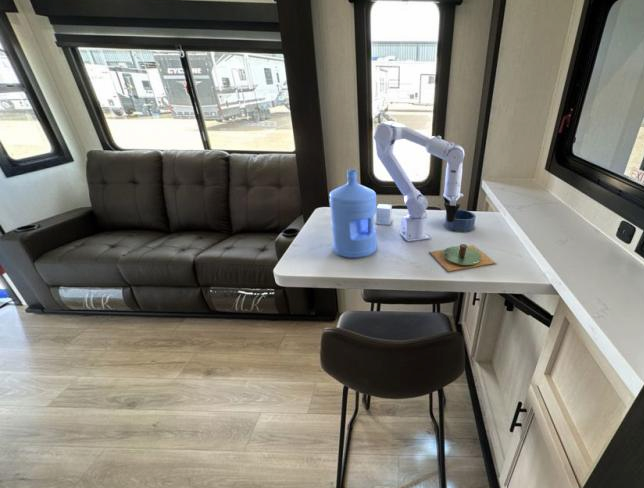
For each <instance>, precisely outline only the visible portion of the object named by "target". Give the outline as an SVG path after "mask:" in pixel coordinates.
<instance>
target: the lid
mask: <svg viewBox="0 0 644 488" xmlns="http://www.w3.org/2000/svg"><path fill="white" fill-rule="evenodd" d="M467 246H468V245H467V244H465V243H461V244H459V245H455V246H450V247H449V246H448V247H446V248H445V249H443V250H444V251H443V256H444V258H445V259H446V260H448V261H450V262H452V263H455V264H459V265H473V264H477V263H479V262H480V261H481V258H482V256H481V254H480V253H479V252H478V251H476V250H474V249H472V248H468V247H467Z"/></svg>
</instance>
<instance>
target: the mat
mask: <svg viewBox="0 0 644 488" xmlns="http://www.w3.org/2000/svg"><path fill="white" fill-rule="evenodd" d="M467 247H468V248H472V249H474V250H476V251H478V252H479V253H480V254H481V256H482V258H481V261H480V262H479V263H477V264H473V265H459V264H455V263H452V262H450V261H448V260H446V259H445V258H444V256H443V251H444V250H445V249H442V250H435V251H430V252H429V254H431V256H432V257H433V258H434V259H435V260H436V261H437V262H438V263H439V264H440V265H441V266H442V267H443V268H444V269H445V271H447V272H448V273H450V272H451V273H452V272H455V271H456V272H457V271H462V270H467V269H473V268H479V267H484V266H489V265H494V264H495V262H494V261H493V260H492V259H491V258H489V257H488V256H487V255H486V254H484V253H483V252H482V251H480V250H479V249H478V248H477V247H475V246H474V245H467Z"/></svg>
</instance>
